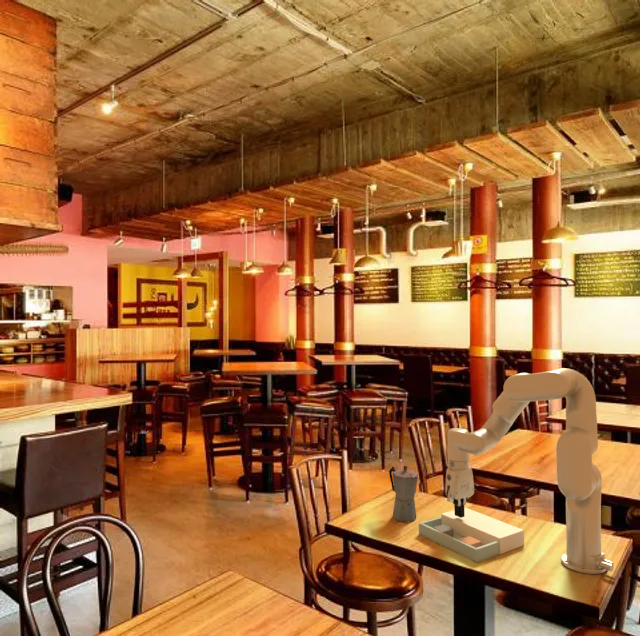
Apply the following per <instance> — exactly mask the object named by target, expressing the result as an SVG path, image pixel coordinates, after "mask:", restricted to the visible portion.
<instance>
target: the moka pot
mask: <svg viewBox="0 0 640 636" xmlns="http://www.w3.org/2000/svg"><path fill="white" fill-rule="evenodd" d="M388 472H389V474H388V475H389V479H390V482H391V484H390V485H391V489H392V491H393V492H394V493H395V498H394V505H393V511H392V517H393V519H394V520H396V521H398V522H400V523H401V522H404V523H411V522H414V521H416V520H417V511H416V502H415V496H416V495H415V494H416V493H417V486H418V481H419V473H417V472H416V471H415V470H410V469H408V466H407V465H404V466H403V469H399V468H398V467H397V468H396V467H394V466H391V468H390V469H389V471H388Z"/></svg>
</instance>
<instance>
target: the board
mask: <svg viewBox="0 0 640 636" xmlns="http://www.w3.org/2000/svg"><path fill="white" fill-rule="evenodd" d="M464 515H465V516H464V517H462V518H460V517H458V516H455V509H453V510H450V511H447V512H443V513H441V514H440V517H441V518H442V525H446V526H448V527H450V528H452V529H454V533H457V534H459V535H461V536H463V537H468V536H471V537H473V538H475V539H477V540H479V541H481V545H486V544H489V543H492V542H495V541H497V542H498V552H499V553H500V554H499V555H501V554H504V553H507V552H510V551H513V550H515V549H518V548H520V547H523V546H525V530H524V529H523V528H520V527H517V526H514V525H511V524H510V523H508V522H507V523H506V522H504V521H501V520H499V519H497V518H494V517H491V516H488V515H486V514H483V513H481V512H479V511H476V510H473V509H470V508H467V507H465V506H464Z"/></svg>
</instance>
